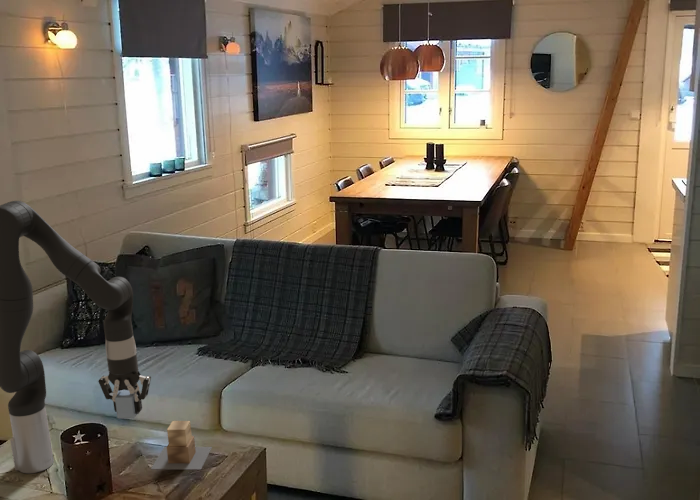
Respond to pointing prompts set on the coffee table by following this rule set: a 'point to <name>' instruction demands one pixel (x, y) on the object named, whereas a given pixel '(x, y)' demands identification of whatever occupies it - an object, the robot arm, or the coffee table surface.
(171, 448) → the walnut base block
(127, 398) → the light grey box block
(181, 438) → the oak top block
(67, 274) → the robot arm
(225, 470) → the coffee table surface
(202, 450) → the felt mat
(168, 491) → the coffee table surface
